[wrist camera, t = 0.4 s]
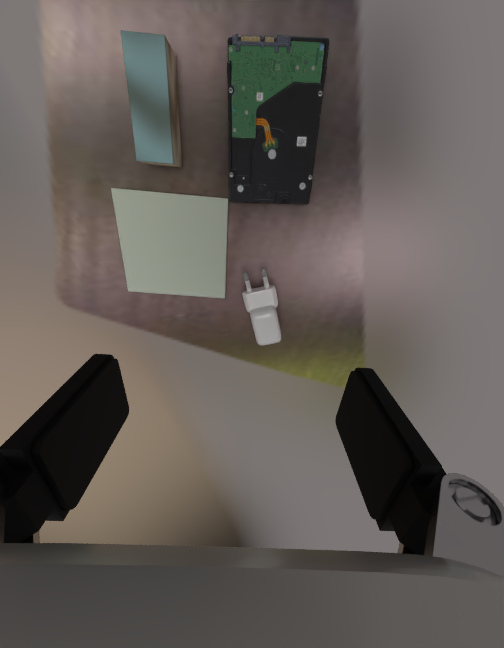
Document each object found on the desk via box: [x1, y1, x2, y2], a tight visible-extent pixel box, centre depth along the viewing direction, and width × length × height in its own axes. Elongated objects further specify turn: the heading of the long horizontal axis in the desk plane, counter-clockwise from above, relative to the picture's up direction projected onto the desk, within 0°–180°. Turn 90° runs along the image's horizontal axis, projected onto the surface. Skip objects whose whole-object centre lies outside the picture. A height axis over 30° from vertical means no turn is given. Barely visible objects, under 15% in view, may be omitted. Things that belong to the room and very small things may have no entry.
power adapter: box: [242, 268, 281, 345], centre depth 36 cm, size 11×5×6 cm, turn 13°
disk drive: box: [227, 34, 329, 204], centre depth 28 cm, size 10×3×15 cm
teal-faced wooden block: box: [121, 30, 182, 168], centre depth 26 cm, size 10×4×4 cm, turn 176°
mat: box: [111, 188, 228, 298], centre depth 35 cm, size 14×15×1 cm
